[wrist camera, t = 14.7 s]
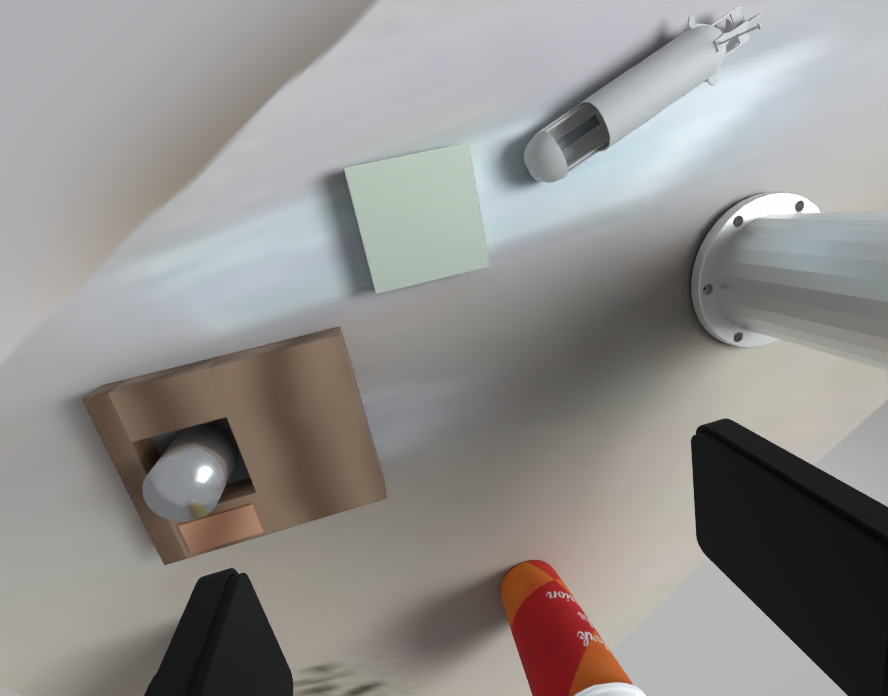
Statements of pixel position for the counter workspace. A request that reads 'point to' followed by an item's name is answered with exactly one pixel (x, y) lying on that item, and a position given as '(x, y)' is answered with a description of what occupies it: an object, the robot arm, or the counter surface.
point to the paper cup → (558, 637)
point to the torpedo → (636, 96)
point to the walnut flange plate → (249, 438)
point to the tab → (418, 217)
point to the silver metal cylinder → (191, 473)
